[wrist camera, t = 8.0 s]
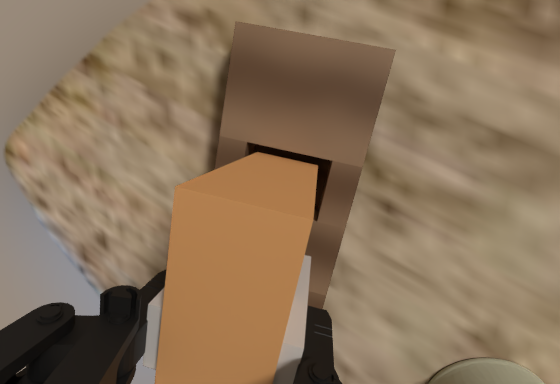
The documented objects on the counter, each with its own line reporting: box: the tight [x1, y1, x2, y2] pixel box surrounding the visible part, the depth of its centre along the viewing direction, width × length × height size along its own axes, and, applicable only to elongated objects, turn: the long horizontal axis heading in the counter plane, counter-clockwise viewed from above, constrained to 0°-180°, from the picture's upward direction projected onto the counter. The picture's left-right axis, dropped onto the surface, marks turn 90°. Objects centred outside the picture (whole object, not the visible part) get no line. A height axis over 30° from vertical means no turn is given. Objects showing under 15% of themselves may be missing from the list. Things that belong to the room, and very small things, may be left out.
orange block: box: [155, 152, 318, 384], centre depth 14 cm, size 12×4×10 cm, turn 168°
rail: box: [215, 21, 396, 309], centre depth 20 cm, size 26×9×2 cm, turn 168°
